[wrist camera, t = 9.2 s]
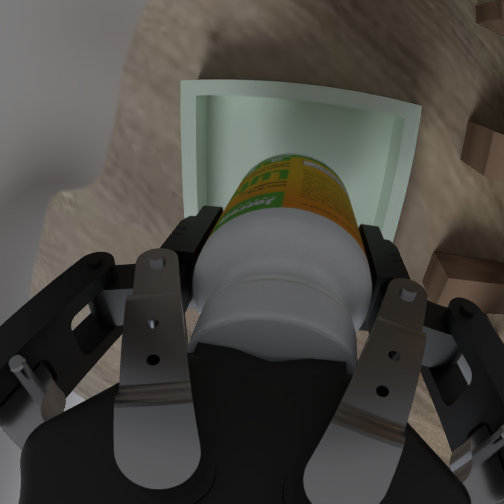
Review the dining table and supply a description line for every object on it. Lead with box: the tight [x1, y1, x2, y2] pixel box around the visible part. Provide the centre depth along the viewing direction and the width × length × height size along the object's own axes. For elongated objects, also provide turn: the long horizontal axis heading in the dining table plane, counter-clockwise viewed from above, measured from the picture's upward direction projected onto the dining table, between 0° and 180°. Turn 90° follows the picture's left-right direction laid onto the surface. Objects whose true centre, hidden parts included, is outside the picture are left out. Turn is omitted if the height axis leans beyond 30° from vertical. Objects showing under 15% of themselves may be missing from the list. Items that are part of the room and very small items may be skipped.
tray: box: [181, 79, 422, 243], centre depth 17 cm, size 12×12×2 cm
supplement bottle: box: [187, 153, 372, 375], centre depth 11 cm, size 5×5×10 cm
